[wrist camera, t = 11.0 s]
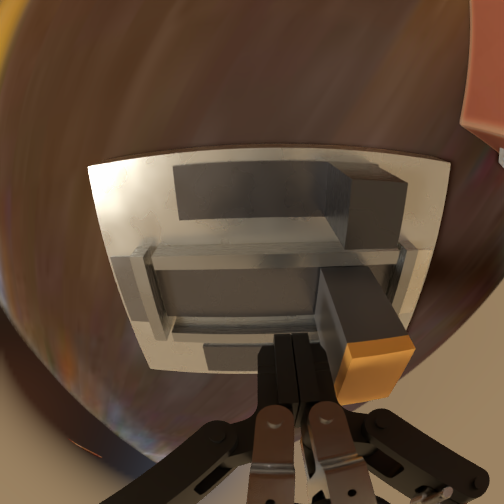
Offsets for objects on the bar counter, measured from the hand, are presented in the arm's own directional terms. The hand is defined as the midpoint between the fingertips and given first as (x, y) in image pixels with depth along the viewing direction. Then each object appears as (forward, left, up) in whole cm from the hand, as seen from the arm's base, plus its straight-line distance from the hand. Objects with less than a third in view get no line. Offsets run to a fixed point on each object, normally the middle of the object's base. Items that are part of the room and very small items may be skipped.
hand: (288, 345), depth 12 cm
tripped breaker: (0, +4, -4) cm, 5 cm away
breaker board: (0, 0, -6) cm, 6 cm away
